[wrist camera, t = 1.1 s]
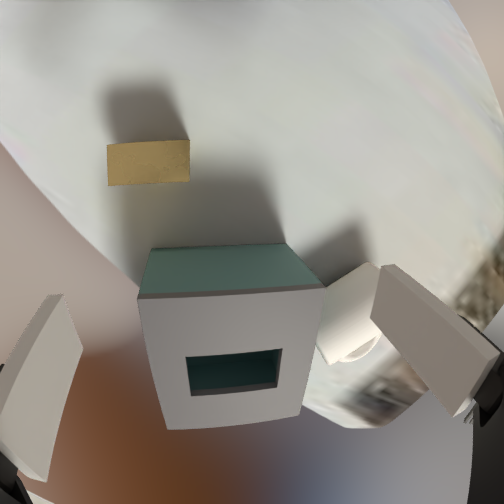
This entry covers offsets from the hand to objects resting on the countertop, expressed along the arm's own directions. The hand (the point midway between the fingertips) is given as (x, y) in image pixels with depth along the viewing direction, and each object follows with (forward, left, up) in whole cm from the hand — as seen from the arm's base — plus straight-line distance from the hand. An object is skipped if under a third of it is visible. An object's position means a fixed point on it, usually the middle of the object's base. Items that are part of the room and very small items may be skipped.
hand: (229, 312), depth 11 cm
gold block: (-5, -4, -19) cm, 20 cm away
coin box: (+12, +2, -19) cm, 22 cm away
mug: (+13, +17, -19) cm, 28 cm away
